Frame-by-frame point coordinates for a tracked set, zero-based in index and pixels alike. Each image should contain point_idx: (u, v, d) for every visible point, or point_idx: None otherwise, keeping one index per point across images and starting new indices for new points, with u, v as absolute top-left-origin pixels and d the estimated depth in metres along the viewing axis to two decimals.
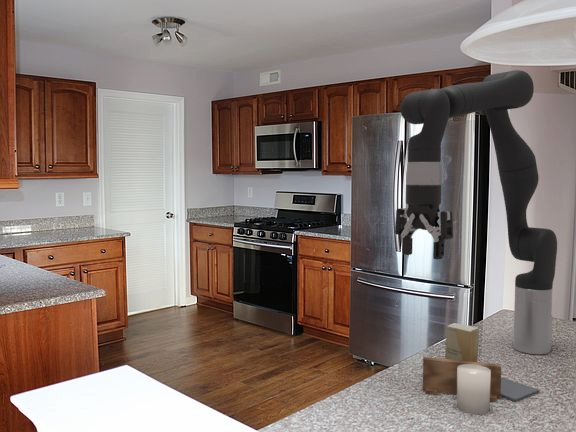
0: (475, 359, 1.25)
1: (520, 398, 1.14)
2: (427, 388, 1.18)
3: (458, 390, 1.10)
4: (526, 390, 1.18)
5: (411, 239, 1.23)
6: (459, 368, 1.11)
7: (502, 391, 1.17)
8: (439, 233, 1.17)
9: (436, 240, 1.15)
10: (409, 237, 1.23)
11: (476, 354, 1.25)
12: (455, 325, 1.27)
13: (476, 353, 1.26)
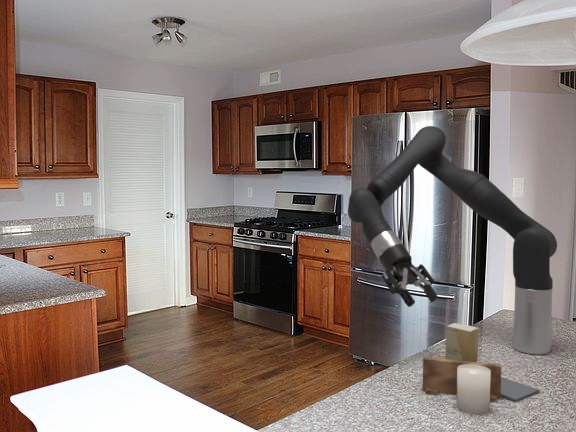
0: (475, 359, 1.25)
1: (520, 398, 1.14)
2: (427, 388, 1.18)
3: (458, 390, 1.10)
4: (526, 390, 1.18)
5: None
6: (459, 368, 1.11)
7: (502, 391, 1.17)
8: (420, 284, 1.41)
9: (430, 284, 1.40)
10: None
11: (476, 354, 1.25)
12: (455, 325, 1.27)
13: (476, 353, 1.26)
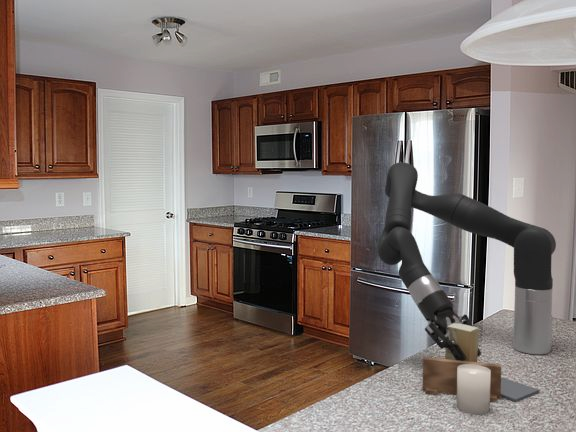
0: (475, 359, 1.25)
1: (520, 398, 1.14)
2: (427, 388, 1.18)
3: (458, 390, 1.10)
4: (526, 390, 1.18)
5: None
6: (459, 368, 1.11)
7: (502, 391, 1.17)
8: None
9: None
10: None
11: (475, 354, 1.25)
12: (455, 325, 1.27)
13: (476, 353, 1.26)
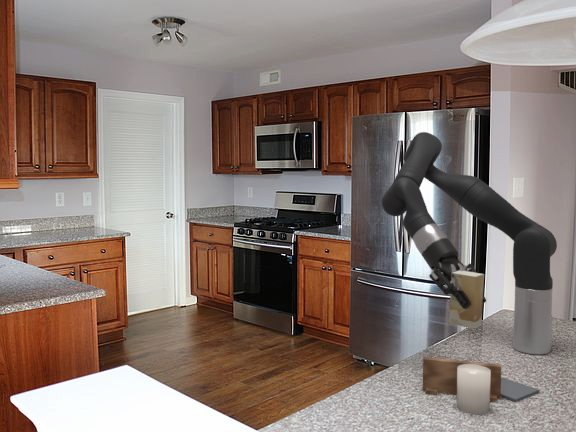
0: (480, 306, 1.24)
1: (520, 398, 1.14)
2: (427, 388, 1.18)
3: (458, 390, 1.10)
4: (526, 390, 1.18)
5: None
6: (459, 368, 1.11)
7: (502, 391, 1.17)
8: None
9: None
10: None
11: (481, 301, 1.24)
12: (460, 272, 1.25)
13: (481, 299, 1.24)
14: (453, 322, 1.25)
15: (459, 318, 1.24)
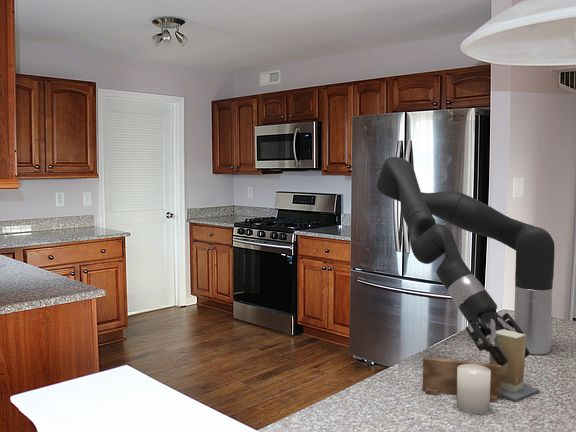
0: (522, 368, 1.18)
1: (520, 398, 1.14)
2: (427, 388, 1.18)
3: (458, 390, 1.10)
4: (526, 390, 1.18)
5: None
6: (459, 368, 1.11)
7: (502, 391, 1.17)
8: None
9: None
10: None
11: (522, 363, 1.18)
12: (500, 331, 1.20)
13: (523, 361, 1.18)
14: None
15: None
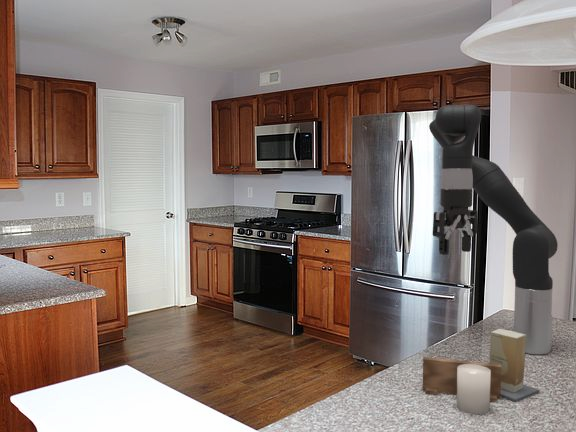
0: (522, 368, 1.18)
1: (520, 398, 1.14)
2: (427, 388, 1.18)
3: (458, 390, 1.10)
4: (526, 390, 1.18)
5: None
6: (459, 368, 1.11)
7: (502, 391, 1.17)
8: (463, 229, 1.37)
9: (471, 235, 1.36)
10: None
11: (522, 363, 1.18)
12: (500, 331, 1.20)
13: (523, 361, 1.18)
14: None
15: None
